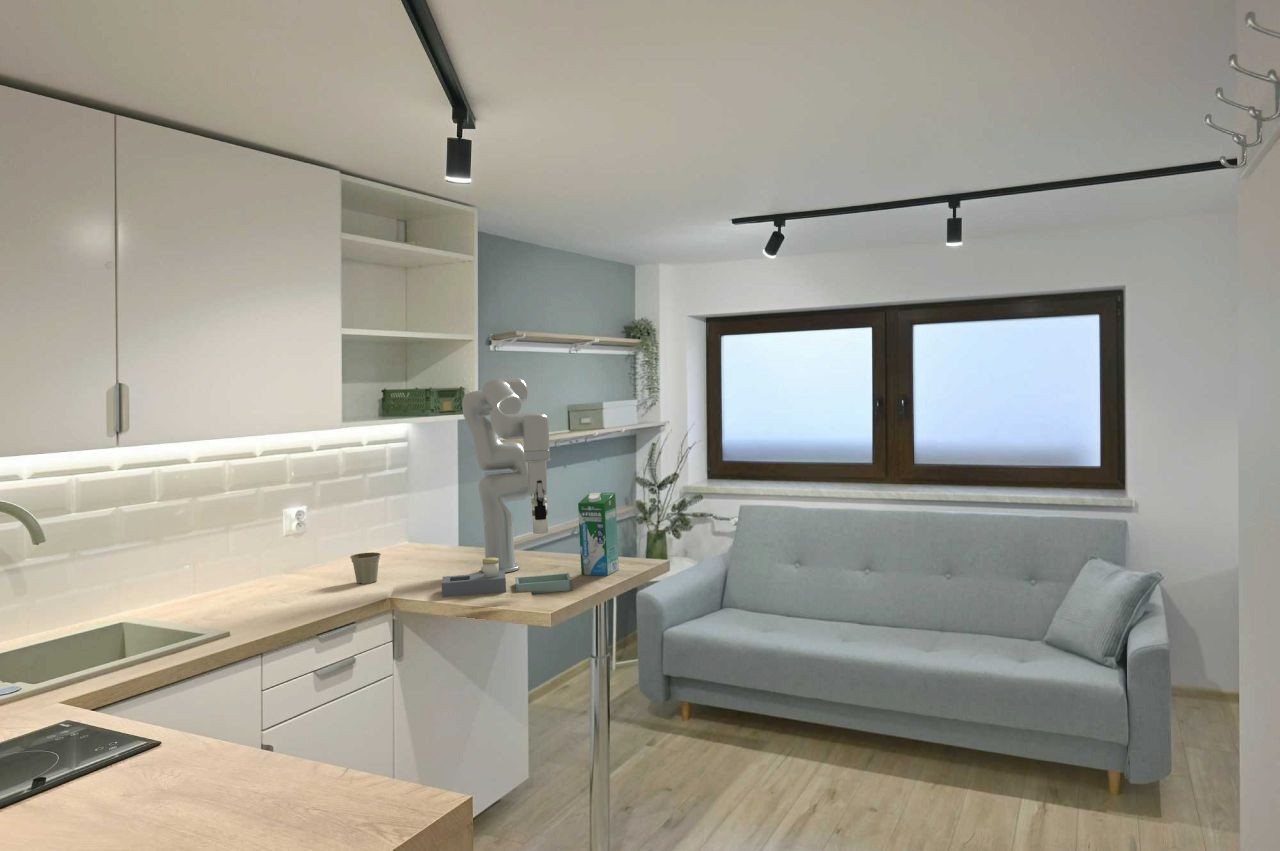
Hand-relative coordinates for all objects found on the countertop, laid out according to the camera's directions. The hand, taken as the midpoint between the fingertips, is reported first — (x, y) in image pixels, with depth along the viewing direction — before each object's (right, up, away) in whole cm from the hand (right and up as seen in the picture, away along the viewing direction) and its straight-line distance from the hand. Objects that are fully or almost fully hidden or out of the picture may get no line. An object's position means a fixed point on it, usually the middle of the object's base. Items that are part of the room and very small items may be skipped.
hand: (540, 517), depth 260 cm
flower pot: (-57, -23, +21) cm, 65 cm away
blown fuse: (0, -4, 0) cm, 4 cm away
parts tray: (+1, -21, +1) cm, 21 cm away
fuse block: (-19, -22, -2) cm, 29 cm away
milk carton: (+17, -20, +21) cm, 33 cm away
